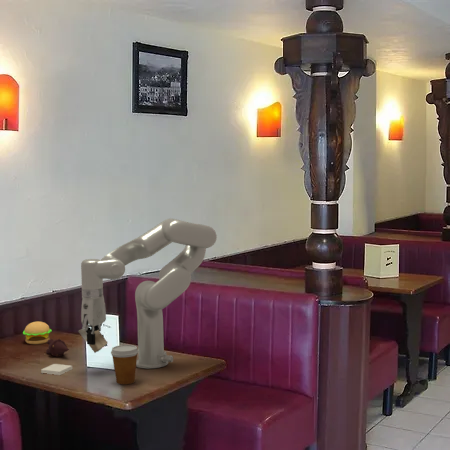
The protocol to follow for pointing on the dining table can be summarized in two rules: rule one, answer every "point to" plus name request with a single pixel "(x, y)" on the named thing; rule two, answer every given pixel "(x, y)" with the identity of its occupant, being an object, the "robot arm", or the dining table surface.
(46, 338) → the hamburger
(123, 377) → the disposable coffee cup
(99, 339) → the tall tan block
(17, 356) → the dining table surface
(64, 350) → the icecream
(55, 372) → the tile
